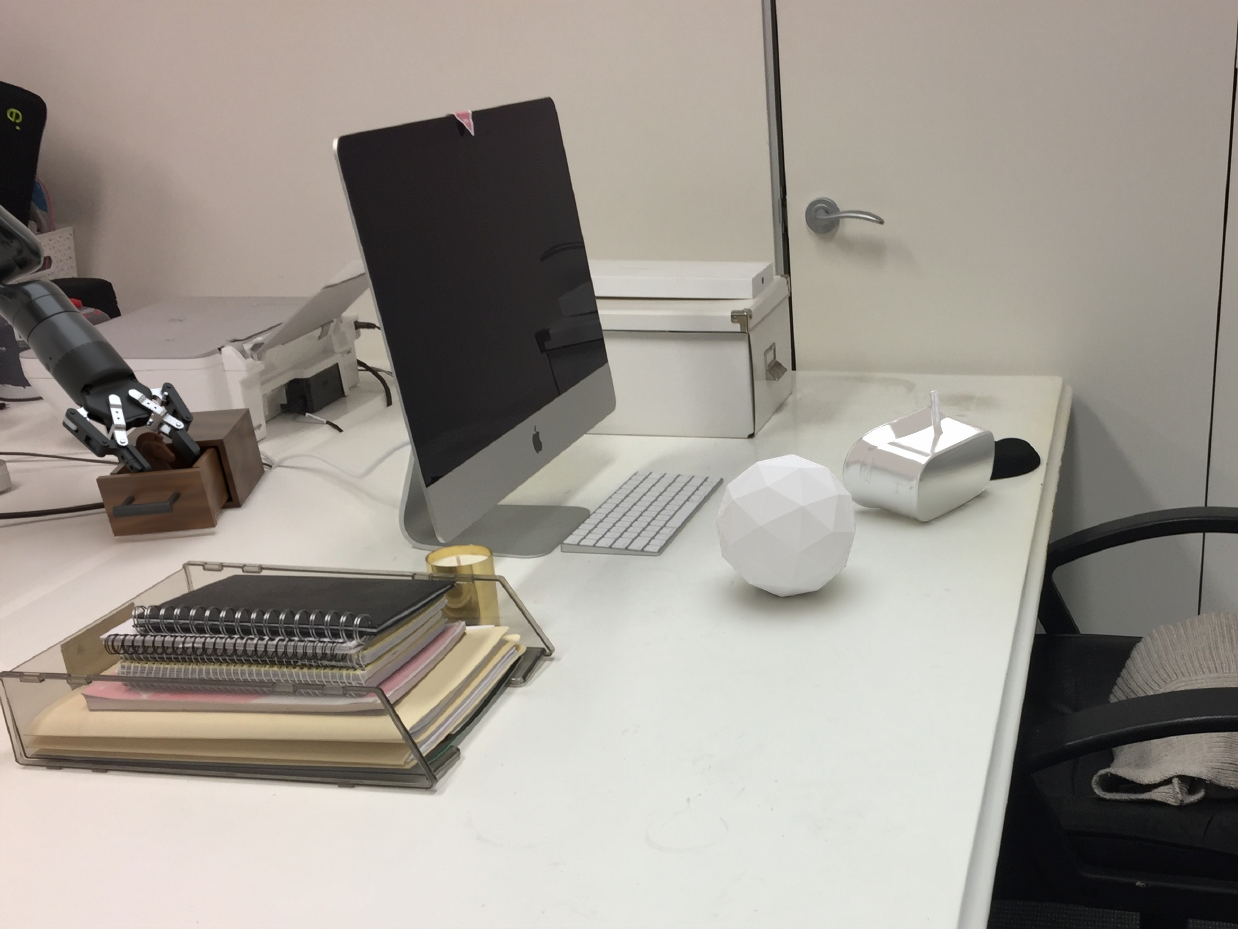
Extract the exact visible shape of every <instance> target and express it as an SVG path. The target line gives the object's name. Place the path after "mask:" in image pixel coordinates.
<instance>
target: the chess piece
mask: <svg viewBox="0 0 1238 929" xmlns="http://www.w3.org/2000/svg"><path fill="white" fill-rule="evenodd" d="M163 438H164V437H163V436H162V435H161V431H159V432H157V433H155V432H145V433H143V434H141V435H139V436H138V438H137V440H136V449H137V451H138V452H139V453H140V454H141V455H142V456H143V458H144V459H145V460H146V461H147V462H148V463H149V465H150V466H151V468H152V471H151V472H154V471H166V470H173V469H172V468H171V467H170V466H169V465H168V463H172V462H173V461H174V460H175V455H174V454H173V453H172V452H171V451H170V450H169V449H168V448H167V446H166V445H165V442H164V441H163ZM166 461H167V462H168V463H167V462H166Z"/></svg>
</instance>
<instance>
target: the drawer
mask: <svg viewBox="0 0 1238 929" xmlns="http://www.w3.org/2000/svg"><path fill="white" fill-rule="evenodd" d="M199 448H200V451H199V453H200V455H199V458H198V460H197V462H194V463H189V462H188V461H187V460H186V459H185V458H184V456H183V455H182V454H181V453H180V452H179V450H178V449H169V450H170V451H171V452H172V453H173V454H174V455H175V460H174V461H173V462H172V463H168V462H167V461H166V462H167V463H168V465H169V466H170V467H171V468H172V469H173V470H166V471H154V472H142V473H131V472H130V470H129V469H128V468H127V467H126V466H125V465H124V463H123V462H121V463H120V464H119V463H118V465H117V466H115V467H114V468H113V469H112V471H111V472H109V475H108V474H107V475H98V477H96V479H95V481H96V484H97V487H98V490H99V494H100V497H101V500H102V503H103V506H104V510H105V512H106V516H107V519H108V522H109V525H110V528H111V532H112V535H113V537H115V538H116V537H127V536H128V537H129V536H138V535H148V534H150V535H151V534H161V533H169V532H170V533H173V532H181V531H182V532H183V531H192V530H193V531H194V530H203V529H215V528H216V527H218V520H217V517H216V516H217V515H218V513H219V512H220V511H221V510H222V509H221V508H222V506H223V505H224V504H225V502H226V501H227V499H228V498H229V497H230V495H231V493H230V489H229V485H228V481H227V478H226V474H225V470H224V467H223V463H222V459H221V455H220V452H219V448H218V445H217V446H205V447H199Z"/></svg>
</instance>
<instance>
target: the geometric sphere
mask: <svg viewBox="0 0 1238 929" xmlns="http://www.w3.org/2000/svg"><path fill="white" fill-rule="evenodd" d="M715 524H716V529H717V535H718V540H719V541H718V542H719V546H720V552H721V557H722V558H723V559H724V560H725V561H726V563H728V564H729V565H730V566H731V567H732V569H733V570H735V571H736V573H737V574H738V575H740V577H741V578H742V579H743V580H744V581H745V582H746V583H747V584H749V585H752V586H754V587H756V588H759V589H761V590H763V591H766V592H768V593H770V594H773V595H775V596H778V597H780V598H784V597H790V596H796V595H800V594H801V595H802V594H805V593H813V592H816V591H819V590H820V589H821V588H822V587H823V586H825V585H826V584H827V583H828V582H830V581H831V580H832V579H833V578H835V577H836V575H838V574H839V573H840V572H841V571H843V570H844V569H845V568H846V567H847V564H848V560H849V557H850V554H851V550H852V546H853V543H854V540H855V536H856V534H857V527H856V520H855V512H854V504H853V500H852V495H851V494H850V493H849V492H848V491H847V490H846V488H845V485H843V484H842V482H841V481H840V480H839V479H838V478H837V477H836V476H835V475H834V473H833V472H832V471H831V470H830V469H829V468H828V467H827V466H825V465H822V464H819V463H817V462H814V461H811V460H808V459H807V458H804V457H802V456H799V455H797V454H794V453H791V454H785V455H782V456H777V457H772V458H768V459H764V460H758V461H756V462H755V463H753V464H752V465H750V466H749V467H748V468H747V469H746V470H744V471H742V473H740V474H739V475H738V476H737V477H735V478H734V479H733V480H732V481H730V482H729V483H728V484H727V485H726V488H725V491H724V494H723V497H722V500H721V503H720V506H719V509H718V512H717V516H716V519H715Z"/></svg>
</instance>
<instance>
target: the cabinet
mask: <svg viewBox="0 0 1238 929" xmlns="http://www.w3.org/2000/svg"><path fill="white" fill-rule="evenodd" d="M190 412H191V414H192V416H193V421H192V422H191V424H190V426H189V429H188V431H187V433H188V434H189V435H190V436H191V438H192V439H193V440H194V441H195V442H196V444H197V445H198V446H199V447H205V446H217V445H218V448H219V452H220V455H221V459H222V463H223V467H224V470H225V474H226V478H227V481H228V485H229V489H230V493H231V495H230V497H229V498H228V499H227V501H226V502H225V504H224V505H223V506H222V508H221V509H220V510H224V509H225V510H226V509H234V508H241V507H242V506H244V504H245V502H246V500H247V499H248V498H249V496H250V494H251V493H252V492H253V490H254V489H255V487H256V485H257V484H258V483H259V482H260V480H261V478H262V477H263V475H264V474H265V473H266V470H265V467H264V463H263V459H262V455H261V454H262V453H261V451H260V447H259V442H258V439H257V435H256V431H255V427H254V422H253V419H252V416H251V412H250V408H249V407H243V408H229V409H228V408H227V409H218V410H216V409H215V410H202V411H190ZM154 418H155V416H154V414H152V415H151V419H153V420H154ZM164 424H165V423H164ZM166 425H167V424H166ZM167 426H168V425H167ZM169 427H170V426H169ZM145 432H153V431H151V430H150V429H148V428H146V427H144V426H143V427H136V428H133V429H132V430H131V432H130V433H129V434H126V435H127V439H128V445H133V446H134V447H135V448H136V440H137V438H138V436H139V435H141V434H143V433H145ZM155 433H157V432H155ZM161 435H162V436H163V437H164V438H163V441H164V442H165V445H166V446H167V448H168V449H177V448H176V447H175V446H174V445H173V443H172V439H170V438H168V437H167V436H165V435H163V434H161ZM116 458H117V461H118V465H119V464H120V463H121V462H122V461H121V460H120V459H119V458H118V457H116Z"/></svg>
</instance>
